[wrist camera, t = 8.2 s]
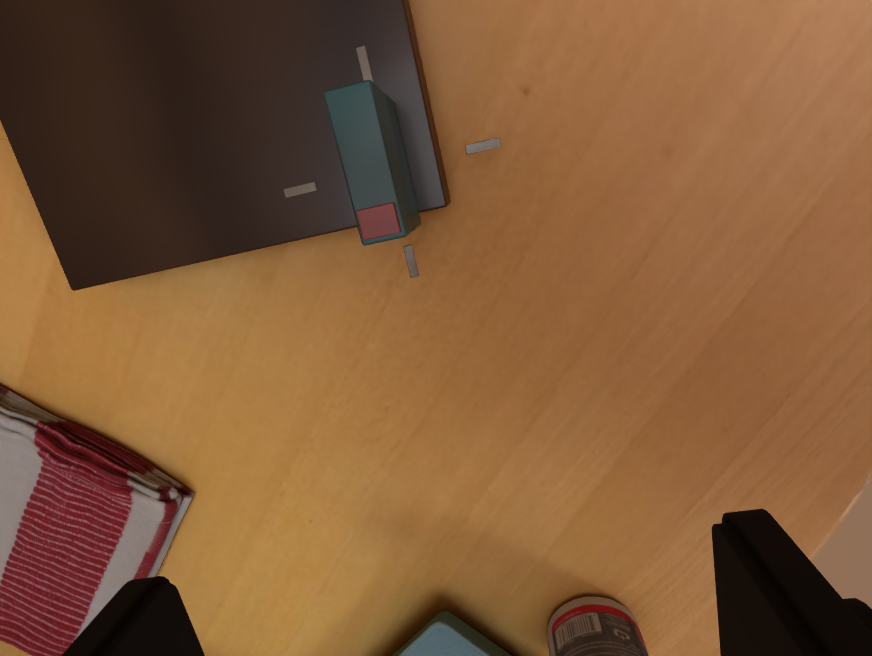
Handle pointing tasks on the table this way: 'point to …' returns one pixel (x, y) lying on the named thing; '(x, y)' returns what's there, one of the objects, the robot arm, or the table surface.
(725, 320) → the table surface
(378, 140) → the teal long angular block
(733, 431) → the table surface
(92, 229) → the holder base
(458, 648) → the teal serving tray
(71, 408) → the table surface
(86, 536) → the dish towel
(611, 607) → the pill bottle
